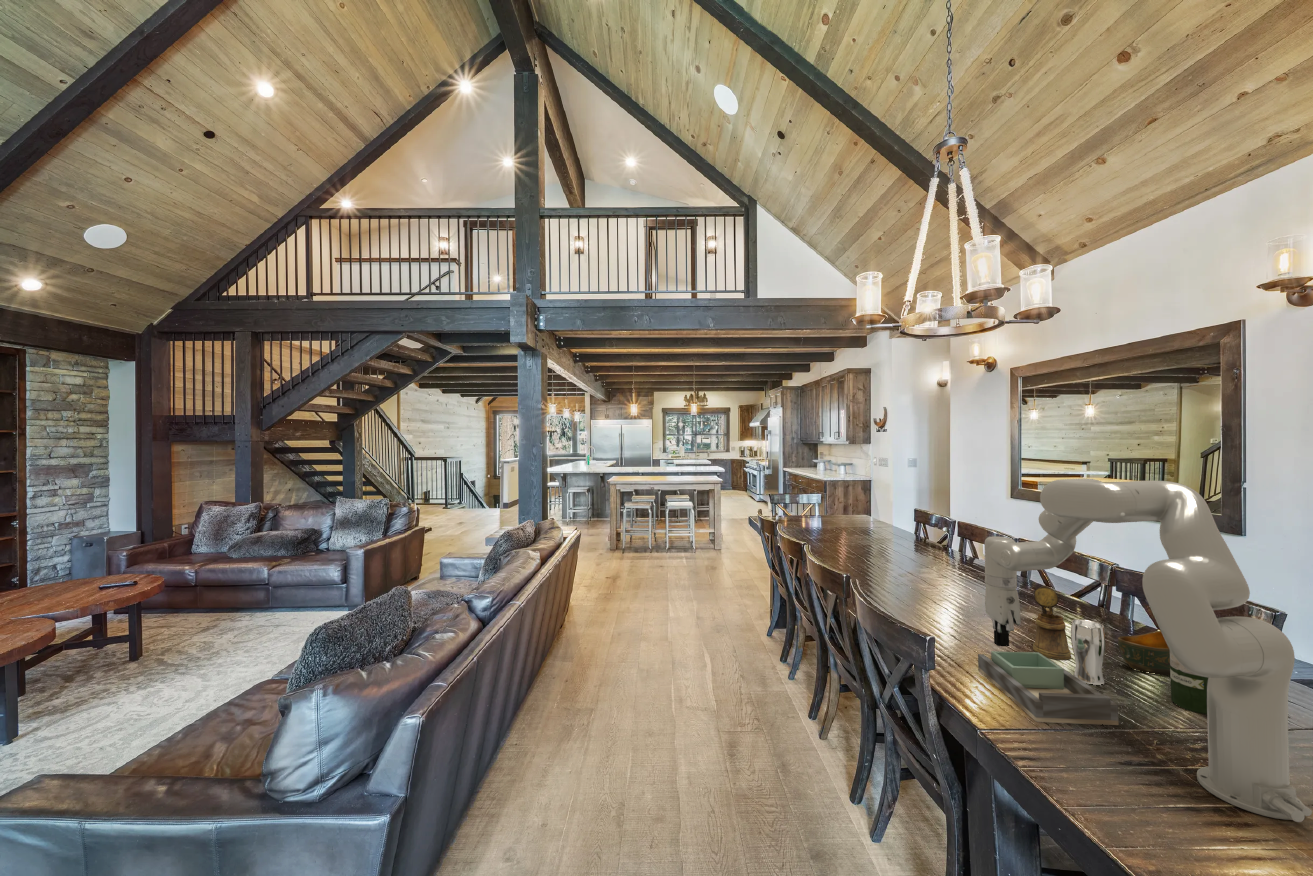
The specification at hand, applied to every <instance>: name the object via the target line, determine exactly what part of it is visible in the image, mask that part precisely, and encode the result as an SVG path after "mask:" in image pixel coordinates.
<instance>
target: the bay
mask: <svg viewBox="0 0 1313 876" xmlns="http://www.w3.org/2000/svg"><path fill="white" fill-rule="evenodd" d="M1046 658H1047V657H1046ZM1048 659H1049V660H1051V658H1048ZM1051 661H1052V662H1054V661H1053V660H1051ZM1054 663H1055V662H1054ZM1055 664H1057V663H1055ZM1057 665H1058V664H1057ZM1058 666H1060V665H1058ZM977 667H978V669H977V670H978V672H980V673H981V674H982V675H983V676H984V677H985V678H986V677H987V678H986V679H988V680H989V681H990V682H991V683H992V684H993V685H994V684H995V685H994V686H995V687H996V688H998V690H1000V691H1001V692H1002V691H1003V692H1002V693H1003V694H1004V693H1005V694H1004V695H1006V697H1008V698H1009V697H1010V698H1011V699H1012V700H1011V699H1010V698H1009V699H1010V700H1011V701H1012V702H1013V701H1014V702H1013V703H1015V704H1016V705H1017V706H1018V707H1019V708H1020V709H1021V710H1022V711H1024V712H1025V713H1026V715H1028V716H1029V717H1031V719H1033V720H1034V721H1035V722H1036V723H1056V724H1057V723H1059V724H1076V725H1077V724H1082V725H1102V724H1103V726H1104V725H1105V726H1107V725H1108V726H1119V704H1117V703H1116V702H1114V701H1113V700H1111V697H1109V696H1108V695H1107V694H1102V693H1101V692H1100V691H1098V690H1096V689H1094V688H1093V687H1092V686H1091V685H1089V684H1086V683H1084V682H1083V681H1081V680H1080V679H1078V678H1077V677H1075V676H1074V674H1072V673H1071V672H1069V671H1068V670H1066V669H1064V668H1063V667H1061V666H1060V667H1061V668H1063V670H1064V689H1052V688H1025V687H1023V686H1022V685H1021V684H1020V683H1019V682H1017V681H1016V680H1015V679H1014V678H1012V677H1011V676H1010V675H1009V674H1007V673H1006V672H1005V671H1004V670H1002V669H1001V668H1000V667H999V666H998V665H996V664H995V663H994V662H993V661H991V659H990V658H989V657H988V656H986V654H984V653H978V654H977Z"/></svg>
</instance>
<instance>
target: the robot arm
mask: <svg viewBox="0 0 1313 876" xmlns="http://www.w3.org/2000/svg"><path fill="white" fill-rule="evenodd" d="M1039 495H1040V496H1039V501H1040V504H1041V506H1042V508H1043V509H1044V510H1043V511H1042V512H1040V514H1039V516H1038V523H1039V525H1040V527H1041V529H1042V530H1043V531H1044V532H1045V533H1047V535H1045V536H1044V537H1043V538H1042V539H1040V540H1038V541H1037V540H1035V541H1019V542H1016V541H1015V540H1014V539H1013V538H1010V537H1005V536H996V535H995V536H988V537H986V539H985V540H984V585H985V593H984V594H985V595H984V611H985V613H986V615H988V617H989V619H991V622H992V628H993V643H994V644H995V645H996V646H997V647H1009V646H1010V633H1011V632H1014V631H1015V626H1014V625H1016V626H1020V625H1021V623H1022V621H1021V620H1022V619H1021V607H1020V606H1021V605H1020V598H1019V593H1018V583H1017V582H1018V577H1017V576H1018V574H1017V572H1029V571H1044V570H1050V569H1053V568H1055V567H1057V566H1059V565H1060V564H1062V563H1063V562H1064V561H1065V560H1067V559H1068V558H1069V557H1070V556H1071V555H1073V554H1074V551H1075V549H1076V546H1077V536H1078V535H1080V533H1082V532H1083V531H1084V530H1085V529H1086V528H1088V527H1089V526H1090V525H1092V523H1094V522H1095V523H1104V524H1105V523H1106V524H1121V523H1122V524H1123V523H1137V522H1138V523H1141V522H1152V521H1153V522H1154V521H1155V522H1160V524H1159V539H1160V540H1159V541H1160V542H1161V545H1162V547H1163V549H1164V550H1165V552H1166V555H1167V557H1168V559H1162V560H1159V561H1158V560H1157V561H1155V562H1152V563H1151V564H1150V565H1148V567H1147V568H1146V569H1145V570H1144V572H1143V575H1142V581H1141V582H1142V590H1143V594H1144V596H1145V598H1146V601H1147V603H1148V605H1149V608H1150V610H1151V612H1152V614H1153V617H1154V619H1155V621H1156V623H1157V625H1158V628H1159V631H1161V632H1162V634H1163V637H1164V639H1165V641H1166V643H1167V645H1168V647H1169V649H1170V651H1171V652H1172V654H1173V655H1174V657H1175V658H1176V659H1177V660H1178V662H1179V663H1180V664H1181V665H1182V666H1184V667H1185V668H1186V669H1188V670H1189V671H1191V672H1193V673H1195V674H1197V675H1200V676H1203V677H1207V678H1208V683H1207V714H1206V715H1207V716H1206V717H1207V718H1206V719H1207V750H1208V751H1207V752H1208V753H1207V755H1208V766H1203V767H1200V768H1198V770H1196V771H1197V772H1196V779H1197V781H1198V783H1199V784H1200V785H1201V787H1202V788H1204V789H1205V790H1206V791H1207V792H1209V793H1211V795H1214V796H1215V797H1216V798H1218V799H1221V800H1222V801H1224V802H1225V803H1228V804H1231V805H1233V806H1234V807H1236V808H1240V809H1242V810H1244V811H1247V812H1249V813H1250V812H1251V813H1254V814H1255V815H1260V816H1263V817H1268V818H1271V819H1280V820H1288V821H1294V822H1296V823H1302V822H1303V821H1304V820H1305V817H1310V816H1311V815H1312V814H1313V811H1312V809H1311V808H1310V807H1308V806H1307V805H1305V804H1304V803H1303V802H1302V801H1301V800H1300V798H1298V797H1297V789H1296V788H1295V787H1293V786H1292V785H1290V756H1289V755H1290V754H1289V752H1290V751H1289V747H1290V746H1289V690H1290V683H1291V678H1292V674H1293V672H1294V667H1295V659H1296V658H1295V650H1294V647H1293V645H1292V642H1291V641H1290V639H1289V638H1288V637H1287V635H1286V634H1285V633H1284V632H1283V631H1282V630H1280V629H1279V628H1278V627H1276V626H1275V625H1273V624H1271V623H1270V622H1267V621H1266V620H1265V621H1264V620H1262V619H1260V618H1254V617H1250V616H1249V617H1248V616H1236V615H1235V616H1225V617H1217V615H1216V614H1215V612H1214V611H1218V610H1227V609H1233V608H1238V607H1240V606H1242V605H1244V604H1246V603H1247V602H1248V600H1249V599H1250V594H1251V591H1250V587H1249V584H1248V582H1247V580H1246V578H1245V576H1244V574H1243V572H1242V570H1241V568H1240V566H1239V565H1238V563H1237V561H1236V559H1235V558H1234V555H1233V554H1232V552H1231V550H1230V548H1229V546H1228V544H1227V542H1226V540H1225V539H1224V537H1223V536H1222V534H1221V532H1220V530H1219V529H1218V525H1217V524H1216V521H1215V519H1214V517H1213V514H1212V511H1211V510H1210V507H1209V505H1208V504H1207V501H1206V500H1205V499H1204V497H1203V496H1202V495H1201V494H1200V493H1199V492H1198V491H1196V490H1195V489H1193V488H1191V487H1190V486H1188V485H1185V484H1182V483H1179V482H1173V481H1166V480H1132V481H1113V482H1112V481H1111V482H1109V481H1108V482H1103V481H1101V480H1098V479H1094V478H1066V479H1065V478H1064V479H1056V480H1052V481H1049V482H1048V483H1047V484H1046V485H1044V487H1043V488H1042V489H1041V492H1040V494H1039Z"/></svg>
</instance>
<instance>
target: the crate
mask: <svg viewBox="0 0 1313 876" xmlns="http://www.w3.org/2000/svg"><path fill="white" fill-rule="evenodd" d="M990 652H991V653H990V655H991V657H990V658H991V659H990V660H991V661H993V662H994V663H995V664H996V665H998V666H999V667H1000V668H1001V669H1002V670H1004V671H1005V672H1006V673H1007V674H1009V675H1010V676H1011V677H1012V678H1014V679H1015V680H1016V681H1017V682H1019V683H1020V684H1021V685H1022V686H1023V687H1025V688H1052V689H1064V670H1063V669H1064V667H1062V668H1061V666H1060V665H1059V666H1058V664H1057V663H1056V664H1055V662H1054V661H1053V660H1051V659H1050V658H1046V657H1045V656H1043V655H1042V654H1040V653H1039V652H1034V651H1033V652H1032V651H999V650H998V651H995V650H994V651H990ZM1049 659H1050V660H1049ZM1052 661H1053V662H1052Z"/></svg>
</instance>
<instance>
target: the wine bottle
mask: <svg viewBox="0 0 1313 876" xmlns="http://www.w3.org/2000/svg"><path fill="white" fill-rule="evenodd" d="M1169 678H1170V701H1171V702H1172V701H1173V702H1174V703H1175V704H1174V703H1173V702H1172V703H1173V704H1174V705H1176V704H1177V705H1178V707H1179V706H1180V707H1179V708H1181V707H1182V709H1183V708H1184V710H1187V711H1189V712H1193V713H1196V714H1201V715H1207V683H1208V678H1207V677H1203V676H1200V675H1197V674H1195V673H1193V672H1191V671H1189V670H1188V669H1186V668H1185V667H1184V666H1182V665H1181V664H1180V663H1179V662H1178V660H1177V659H1176V658H1175V657H1174V655H1173V654H1172V652H1171V651H1170V676H1169ZM1177 705H1176V706H1177Z"/></svg>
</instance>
